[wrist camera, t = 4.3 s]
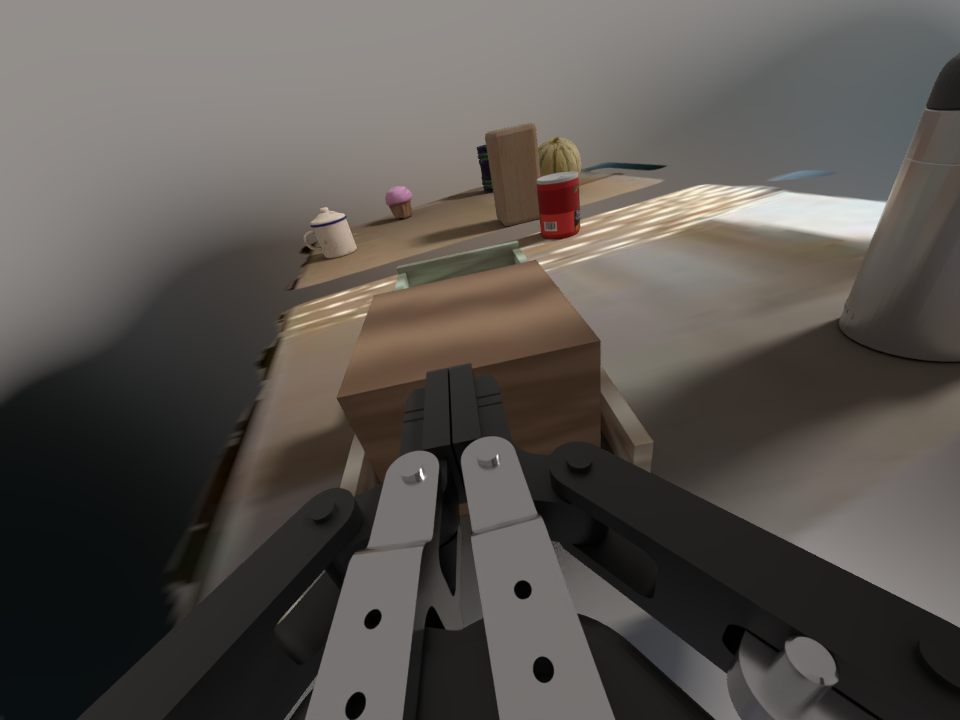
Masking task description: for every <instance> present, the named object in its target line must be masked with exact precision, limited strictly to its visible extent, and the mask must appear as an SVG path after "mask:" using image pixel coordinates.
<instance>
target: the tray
mask: <svg viewBox="0 0 960 720" xmlns="http://www.w3.org/2000/svg"><path fill="white" fill-rule="evenodd" d="M524 262H529V261H528V260H527V258H526V257H525V256H524V254H523V253H522V251H521V250H520V248H519V242H518V241H517V240H516V241H512V242H507V243H503V244H498V245H494V246H489V247H485V248H480V249H475V250H471V251H466V252H461V253H457V254H452V255H448V256H443V257H438V258H434V259H429V260H425V261H420V262H416V263H411V264H406V265H402V266H398V267H397V271H398V274H399V275H398V279H397V282H396V286H395V289H394V291H397V290H401V289H406V288H410V287H415V286H419V285H424V284H429V283H433V282H438V281H442V280H447V279H451V278H456V277H460V276H465V275H469V274H474V273H479V272H483V271H488V270H492V269H497V268H501V267H506V266H510V265H515V264H519V263H524ZM600 367H601V365H600ZM601 431H602V433H603V434H604V436H605V438H606V440H607V442H608V444H609V445H610V447H611V449H612V451H613V453H614V455H616V456H618V457H620V458H622V459H624V460H626V461H628V462H630V463H632V464H634V465H636V466H638V467H640V468H642V469H644V470H646V471H648V472H651V463H652V454H653V445H654V442H653V440H652V439H651V437H650V436H649V434H648V433H647V431H646V430H645V429H644V427H643V426H642V424H641V423H640V421H639V420H638V418H637V417H636V416H635V414H634V413H633V411H632V410H631V408H630V407H629V405H628V404H627V403H626V401H625V400H624V398H623V397H622V395H621V394H620V392H619V391H618V390H617V388H616V387H615V385H614V384H613V382H612V381H611V380H610V378H609V377H608V375H607V374H606V372H605V371H604V369H603V368H602V367H601ZM379 484H381V482H380V480H379V478H378V476H377V474H376V472H375V470H374V469H373V467H372V465H371V463H370V461H369V459H368V457H367V455H366V453H365V451H364V449H363V447H362V446H361V444H360V442H359V440H358V438H357V436H356V434H354V438H353V441H352V445H351V449H350V452H349V456H348V460H347V463H346V467H345V470H344V474H343V478H342V481H341V485H340V488H343V489H346V490H348V491H350V492H351V493H352V495H353V496H354V497H355V496H357V495H359V494H361V493H363V492H365V491H367V490H370V489H372V488H374V487H376V486H377V485H379Z"/></svg>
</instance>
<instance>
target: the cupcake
mask: <svg viewBox="0 0 960 720" xmlns="http://www.w3.org/2000/svg"><path fill="white" fill-rule="evenodd" d="M411 199H412V194H411V192H410V191H409V190H408V189H407V188H405V187H404V186H402V187H399V186H396V187H394V188H392V189H389V190H388V192H387V193H386V198H385V200H386V204H387V205H388V206H389V207H390V209H391V211H392V213H393V215H394V216H395V217H396V218H397V219H400V218H407V217H410V216H411V215H412V208H411V202H410V200H411Z"/></svg>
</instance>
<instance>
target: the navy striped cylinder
mask: <svg viewBox="0 0 960 720" xmlns="http://www.w3.org/2000/svg"><path fill="white" fill-rule="evenodd" d="M477 150H478V154H479V155H478V159H480V160H479V164H480V166H481V172H482V184H483V185H485V186H483V188H484V193H493V186H492V180H491V173H490V167H489V160H488V154H487V147H486V145H483V146H479V147H477Z"/></svg>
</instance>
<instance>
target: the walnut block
mask: <svg viewBox="0 0 960 720" xmlns="http://www.w3.org/2000/svg"><path fill="white" fill-rule="evenodd" d="M467 363H471V365H472V369H473V373H474V377H478V376H483V375H488V374H490V375H491V376H492V377H493V378H494V379H495V380H496V381H497V382H498V385H499V389H500V394H501V398H502V402H503V406H504V410H505V414H506V419H507V423H508V427H509V431H510V435H511V438H512V440H513V442H514V443H515V444H516V446H518V447H519V448H520V449H522V450H524V451H526V452H529V453H533V454H540V455H551V454H552V452H553V451H554V450H555V449H556V448H557V447H559V446H560V445H562V444H565V443H568V442H574V441H582V442H588V443H591V444H593V445H596V446H598V447H600V448H601V367H600V339H599V338H598V337H597V336H596V334H595V333H594V332H593V331H592V329H591V328H590V327H589V326H588V324H587V323H586V322H585V321H584V319H583V318H582V317H581V316H580V314H579V313H578V312H577V311H576V309H575V308H574V307H573V306H572V304H571V303H570V302H569V301H568V299H567V298H566V297H565V296H564V294H563V293H562V292H561V291H560V289H559V288H558V287H557V286H556V284H555V283H554V282H553V281H552V279H551V278H550V277H549V276H548V274H547V273H546V272H545V271H544V269H543V268H542V267H541V266H540V264H539V263H538V262H537V261H536V260H533V261H529V262H524V263H519V264H515V265H510V266H506V267H501V268H497V269H492V270H488V271H483V272H479V273H474V274H469V275H465V276H460V277H456V278H451V279H447V280H442V281H438V282H433V283H429V284H424V285H419V286H415V287H410V288H406V289H401V290H397V291H392V292H388V293H383V294H379V295H374V297H373V300H372V302H371V305H370V308H369V311H368V313H367V316H366V319H365V322H364V324H363V327H362V330H361V333H360V335H359V338H358V341H357V343H356V346H355V349H354V352H353V354H352V357H351V360H350V363H349V365H348V368H347V371H346V374H345V376H344V379H343V382H342V385H341V387H340V390H339V393H338V396H337V400H338V402H339V403H340V405H341V407H342V409H343V411H344V413H345V415H346V417H347V419H348V421H349V423H350V425H351V426H352V428H353V430H354V432H355V434H356V436H357V438H358V440H359V442H360V444H361V446H362V447H363V449H364V451H365V453H366V455H367V457H368V459H369V461H370V463H371V465H372V467H373V469H374V470H375V472H376V474H377V476H378V478H379V480H380V482H381V483H382V482H383V481H384V480H385V476H386V473H387V470H388V469H389V467H390V466H391V464H392V463H393V462H394V461H395V460H397V459H398V458H399V454H400V446H401V438H402V430H403V424H404V414H405V406H406V400H407V399H408V397H409V396H410V394H411V393H412V391H413V390H414V389H419V388H424V387H425V385H426V372H428V371H433V370H438V369H443V368H449V370H450V367H452V366H457V365H462V364H467ZM459 512H460V516H462V515H467V514H470V513H469V507H468V503H463V504H459Z"/></svg>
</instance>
